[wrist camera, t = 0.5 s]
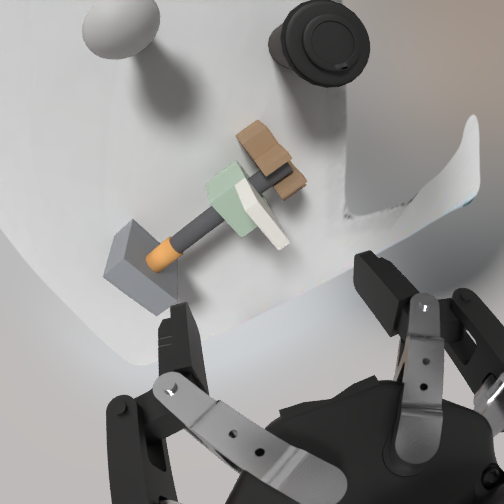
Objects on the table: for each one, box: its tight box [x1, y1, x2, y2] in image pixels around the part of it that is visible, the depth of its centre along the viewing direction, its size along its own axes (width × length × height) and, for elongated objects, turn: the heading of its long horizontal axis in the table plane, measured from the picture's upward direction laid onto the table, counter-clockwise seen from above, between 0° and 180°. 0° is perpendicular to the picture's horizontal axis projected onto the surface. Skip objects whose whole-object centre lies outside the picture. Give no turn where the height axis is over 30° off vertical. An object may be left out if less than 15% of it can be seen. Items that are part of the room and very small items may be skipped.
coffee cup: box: [268, 0, 370, 88], centre depth 22 cm, size 8×8×10 cm
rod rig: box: [103, 120, 307, 316], centre depth 32 cm, size 23×8×8 cm, turn 125°
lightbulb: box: [82, 0, 160, 59], centre depth 18 cm, size 6×6×11 cm
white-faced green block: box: [206, 161, 290, 251], centre depth 28 cm, size 4×5×10 cm
